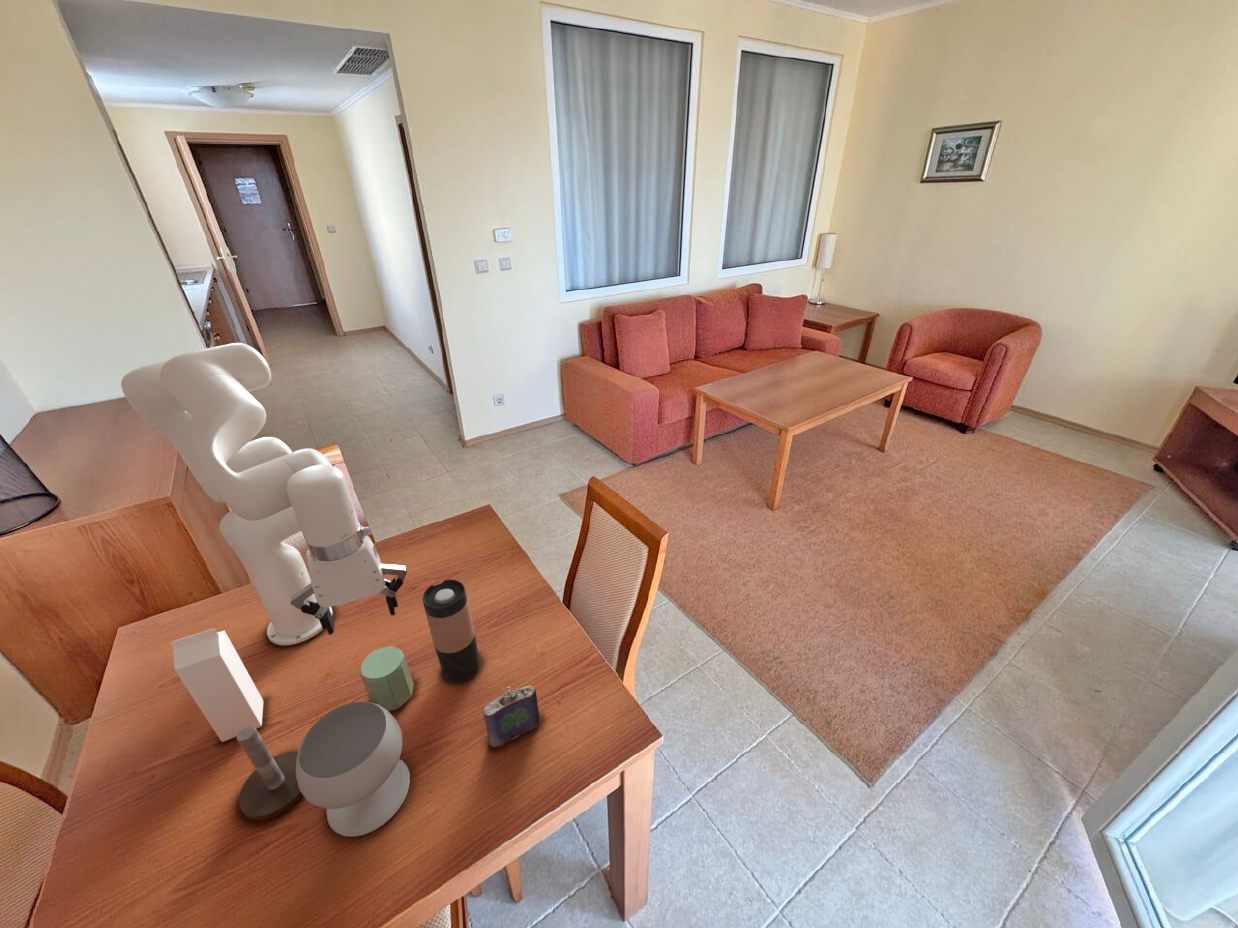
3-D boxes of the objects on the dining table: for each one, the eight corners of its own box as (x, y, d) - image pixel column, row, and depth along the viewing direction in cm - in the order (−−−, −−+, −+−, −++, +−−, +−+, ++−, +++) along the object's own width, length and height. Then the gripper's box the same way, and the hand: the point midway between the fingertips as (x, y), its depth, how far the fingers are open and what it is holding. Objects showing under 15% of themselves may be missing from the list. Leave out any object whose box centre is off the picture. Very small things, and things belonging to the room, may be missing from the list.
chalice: (413, 827, 75) (390, 770, 67) (310, 858, 71) (274, 802, 64) (418, 740, 86) (399, 684, 79) (330, 764, 83) (302, 707, 76)
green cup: (365, 698, 94) (352, 666, 90) (398, 672, 99) (387, 640, 95) (387, 717, 90) (375, 685, 86) (420, 689, 96) (410, 657, 91)
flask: (492, 751, 85) (483, 711, 80) (487, 736, 87) (478, 697, 82) (542, 725, 89) (537, 685, 84) (536, 712, 91) (530, 672, 86)
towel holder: (246, 771, 82) (212, 718, 75) (314, 745, 86) (287, 692, 79) (236, 832, 74) (196, 780, 68) (311, 801, 78) (281, 747, 71)
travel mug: (470, 686, 96) (452, 611, 86) (434, 680, 97) (413, 605, 88) (487, 655, 102) (472, 581, 93) (453, 649, 104) (435, 576, 94)
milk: (262, 726, 89) (213, 641, 78) (221, 743, 87) (164, 656, 76) (263, 700, 94) (217, 616, 83) (225, 715, 91) (172, 630, 81)
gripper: (393, 514, 84) (413, 589, 92) (273, 542, 77) (307, 620, 85) (397, 539, 78) (418, 617, 86) (268, 572, 71) (304, 652, 80)
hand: (362, 618), depth 86 cm, fingers open, 9 cm apart
